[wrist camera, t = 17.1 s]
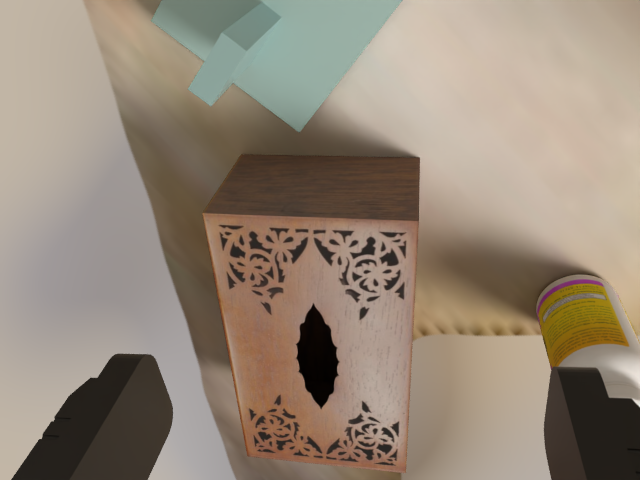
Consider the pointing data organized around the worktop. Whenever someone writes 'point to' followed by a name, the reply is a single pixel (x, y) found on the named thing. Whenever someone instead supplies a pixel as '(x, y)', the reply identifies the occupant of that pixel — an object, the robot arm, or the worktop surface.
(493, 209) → the worktop surface
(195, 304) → the worktop surface
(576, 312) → the supplement bottle
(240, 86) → the lid
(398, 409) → the tissue box cover
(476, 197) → the worktop surface
